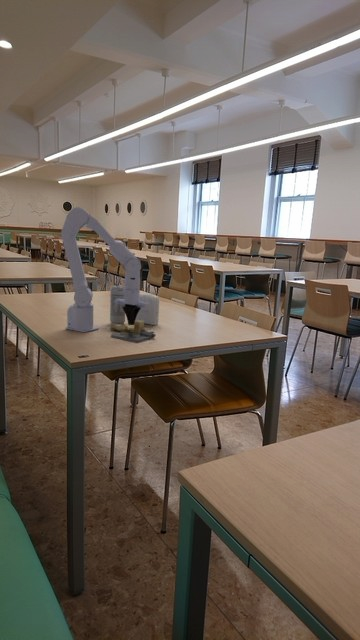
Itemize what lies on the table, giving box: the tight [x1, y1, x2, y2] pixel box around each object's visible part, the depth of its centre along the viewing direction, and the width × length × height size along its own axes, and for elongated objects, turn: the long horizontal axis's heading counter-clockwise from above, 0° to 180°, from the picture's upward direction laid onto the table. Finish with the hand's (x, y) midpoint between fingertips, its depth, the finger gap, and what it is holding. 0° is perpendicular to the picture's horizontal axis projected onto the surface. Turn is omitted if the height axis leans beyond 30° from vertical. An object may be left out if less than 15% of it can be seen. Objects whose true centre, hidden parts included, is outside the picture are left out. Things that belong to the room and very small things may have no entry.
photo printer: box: [135, 293, 160, 326], centre depth 170 cm, size 10×4×12 cm, turn 60°
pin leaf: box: [110, 330, 157, 344], centre depth 146 cm, size 13×10×2 cm
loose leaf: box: [109, 320, 152, 334], centre depth 156 cm, size 12×10×4 cm
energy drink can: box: [109, 285, 126, 325], centre depth 167 cm, size 6×6×15 cm
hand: (131, 324), depth 158 cm, fingers closed
